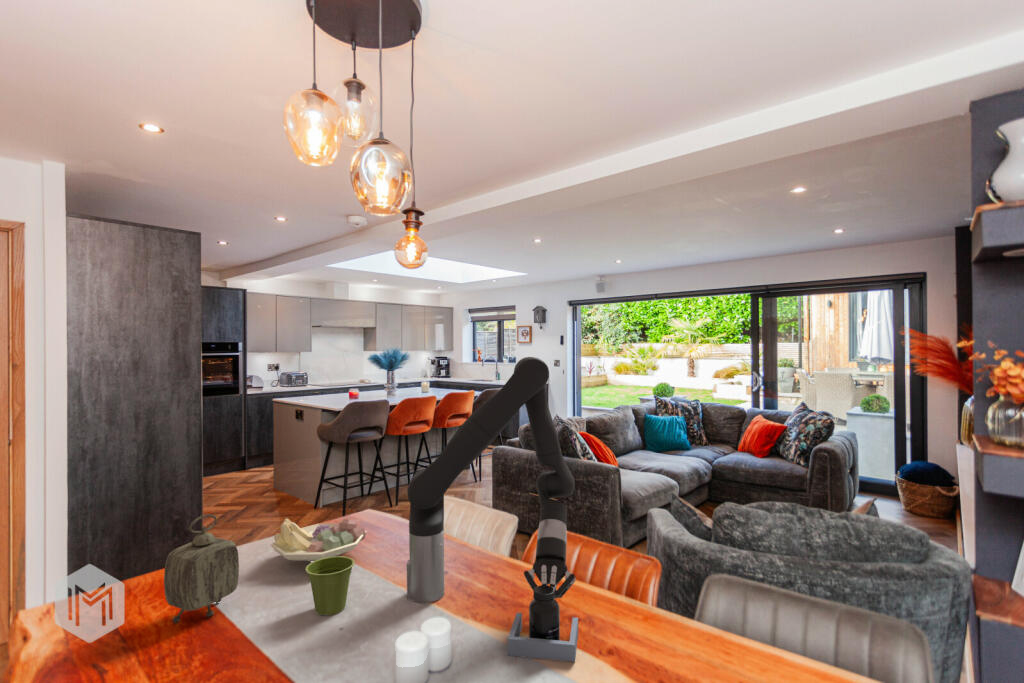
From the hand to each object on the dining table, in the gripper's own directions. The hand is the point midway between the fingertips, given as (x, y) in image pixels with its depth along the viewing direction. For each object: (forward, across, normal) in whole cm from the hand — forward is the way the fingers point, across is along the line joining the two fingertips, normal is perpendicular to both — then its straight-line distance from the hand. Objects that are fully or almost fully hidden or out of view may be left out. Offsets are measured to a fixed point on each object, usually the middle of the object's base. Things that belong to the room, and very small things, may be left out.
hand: (547, 615), depth 118 cm
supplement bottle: (+6, 0, 0) cm, 6 cm away
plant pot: (+1, -56, +5) cm, 56 cm away
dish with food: (-19, -76, +25) cm, 82 cm away
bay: (+5, 0, +1) cm, 5 cm away
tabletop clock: (+6, -86, 0) cm, 87 cm away
